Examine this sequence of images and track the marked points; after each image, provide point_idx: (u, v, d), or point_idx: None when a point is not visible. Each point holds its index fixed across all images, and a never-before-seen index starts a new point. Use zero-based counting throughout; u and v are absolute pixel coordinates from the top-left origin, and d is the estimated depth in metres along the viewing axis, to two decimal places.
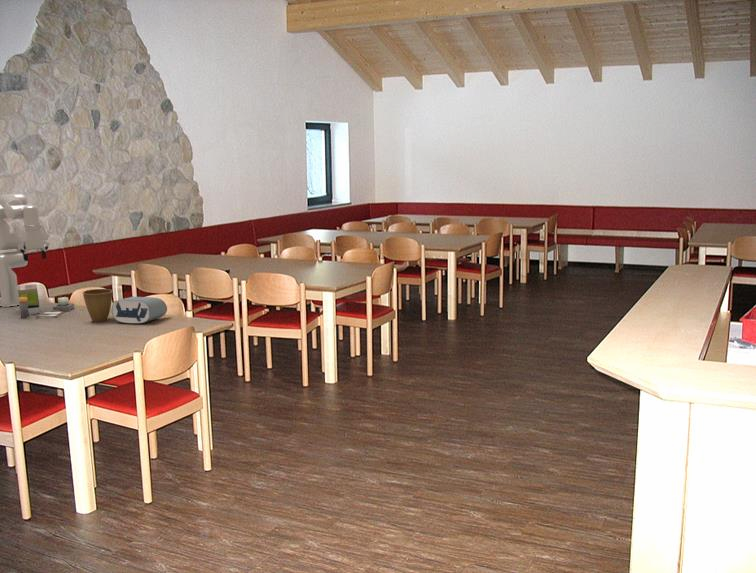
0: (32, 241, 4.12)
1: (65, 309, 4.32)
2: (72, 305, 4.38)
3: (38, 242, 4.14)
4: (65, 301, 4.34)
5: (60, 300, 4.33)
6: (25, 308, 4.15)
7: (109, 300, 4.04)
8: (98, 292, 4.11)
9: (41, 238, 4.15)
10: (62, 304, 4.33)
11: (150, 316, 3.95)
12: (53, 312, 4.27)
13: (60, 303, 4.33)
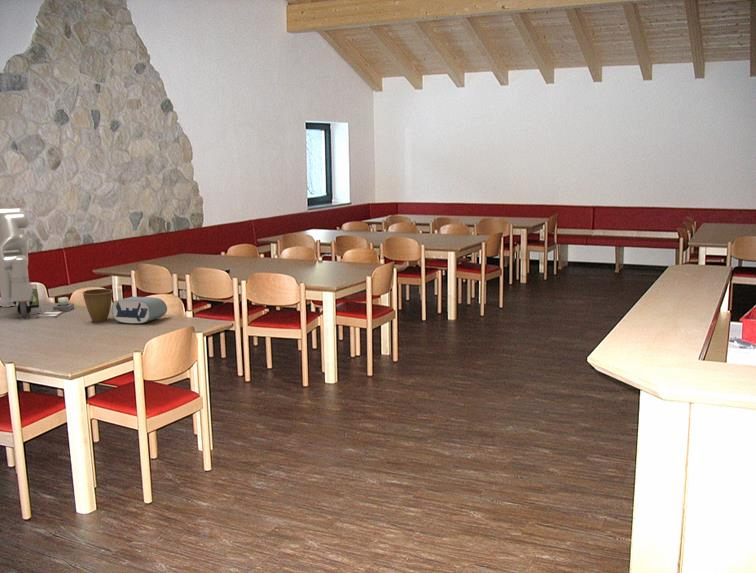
0: None
1: (65, 309, 4.32)
2: (72, 305, 4.38)
3: None
4: (65, 301, 4.34)
5: (60, 300, 4.33)
6: (25, 308, 4.15)
7: (109, 300, 4.04)
8: (98, 292, 4.11)
9: None
10: (62, 304, 4.33)
11: (150, 316, 3.95)
12: (53, 312, 4.27)
13: (60, 303, 4.33)
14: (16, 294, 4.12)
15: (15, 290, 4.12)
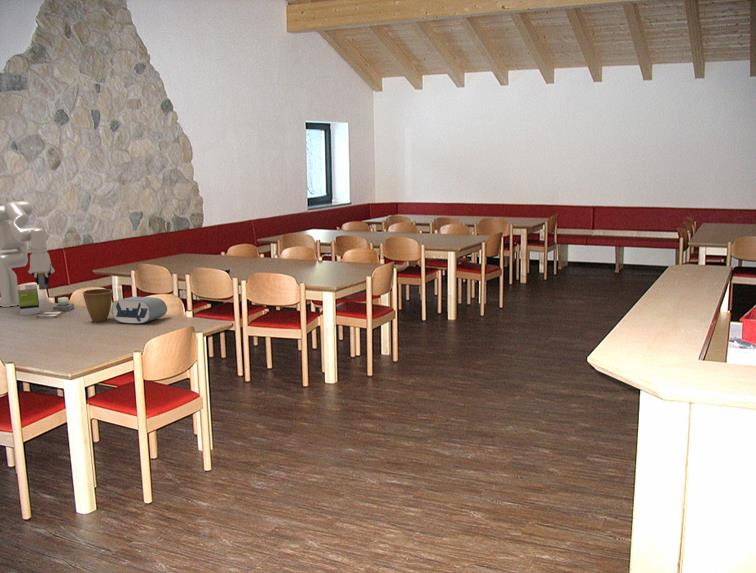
0: None
1: (65, 309, 4.32)
2: (72, 305, 4.38)
3: None
4: (65, 301, 4.34)
5: (60, 300, 4.33)
6: (43, 279, 4.16)
7: (109, 300, 4.04)
8: (98, 292, 4.11)
9: None
10: (62, 304, 4.33)
11: (150, 316, 3.95)
12: (53, 312, 4.27)
13: (60, 303, 4.33)
14: (34, 265, 4.13)
15: (33, 261, 4.13)
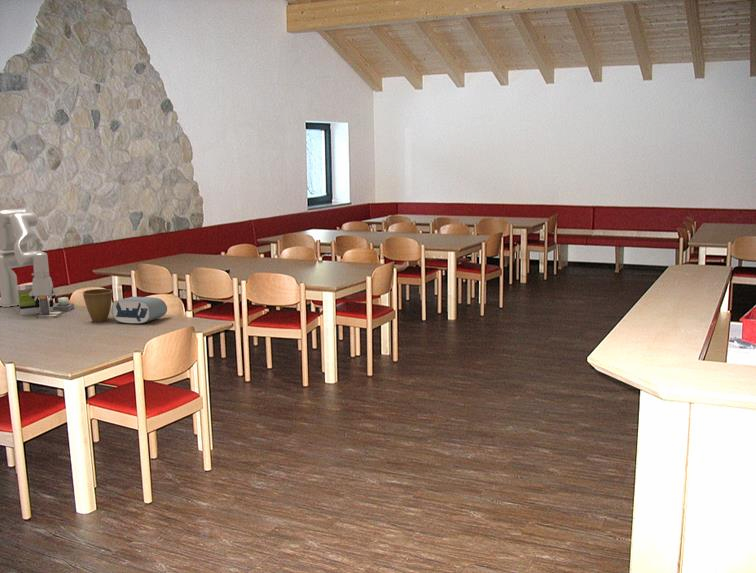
0: None
1: (65, 309, 4.32)
2: (72, 305, 4.38)
3: None
4: (65, 301, 4.34)
5: (60, 300, 4.33)
6: (45, 305, 4.19)
7: (109, 300, 4.04)
8: (98, 292, 4.11)
9: None
10: (62, 304, 4.33)
11: (150, 316, 3.95)
12: (53, 312, 4.27)
13: (60, 303, 4.33)
14: (37, 289, 4.16)
15: (36, 285, 4.15)
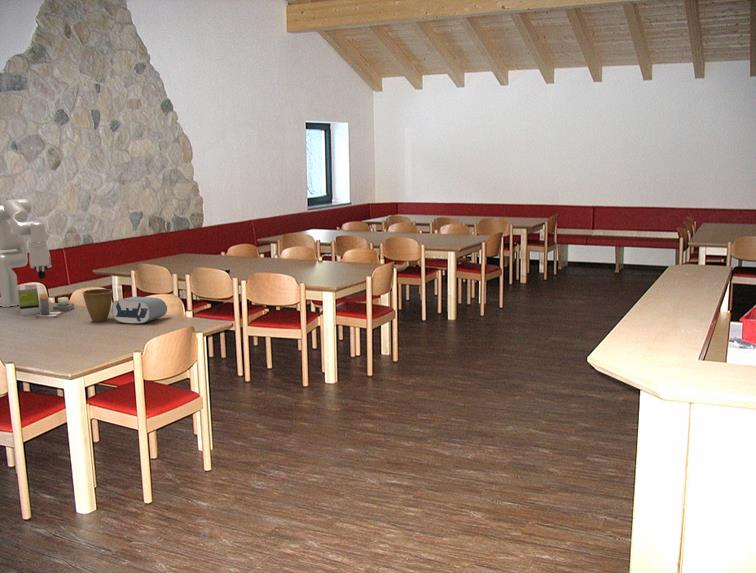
0: None
1: (65, 309, 4.32)
2: (72, 305, 4.38)
3: None
4: (65, 301, 4.34)
5: (60, 300, 4.33)
6: (46, 305, 4.19)
7: (109, 300, 4.04)
8: (98, 292, 4.11)
9: None
10: (62, 304, 4.33)
11: (150, 316, 3.95)
12: (53, 312, 4.27)
13: (60, 303, 4.33)
14: (34, 259, 4.13)
15: (33, 255, 4.12)
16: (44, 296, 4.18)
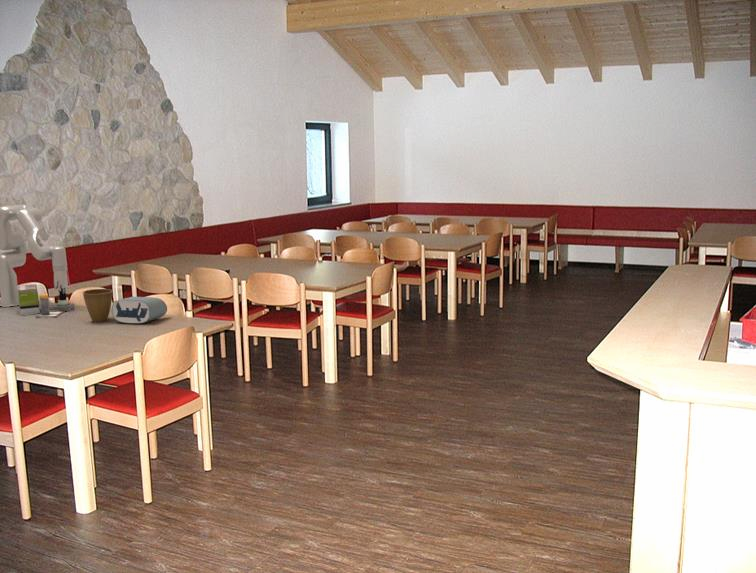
0: (64, 280, 4.32)
1: (65, 309, 4.32)
2: (72, 305, 4.38)
3: (66, 280, 4.35)
4: (65, 303, 4.34)
5: (60, 302, 4.33)
6: (46, 305, 4.19)
7: (109, 300, 4.04)
8: (98, 292, 4.11)
9: None
10: None
11: (150, 316, 3.95)
12: (53, 312, 4.27)
13: (60, 305, 4.33)
14: None
15: None
16: (44, 296, 4.18)
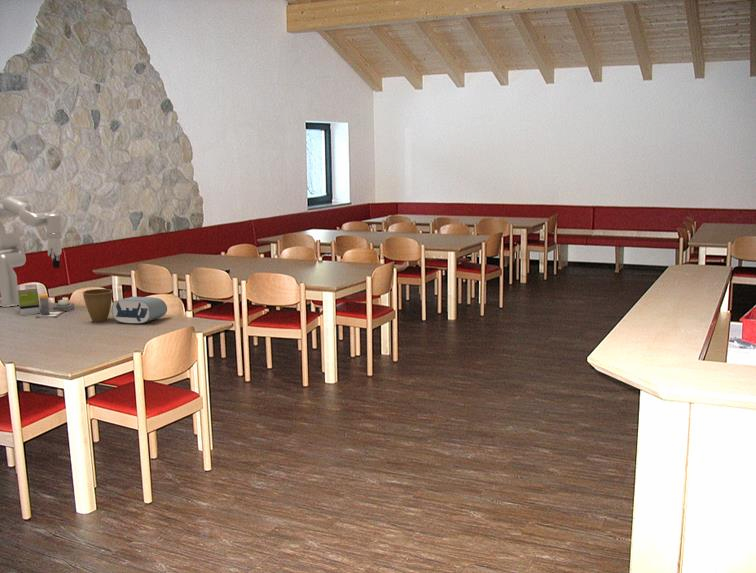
0: (58, 247, 4.30)
1: (65, 309, 4.32)
2: (72, 305, 4.38)
3: (60, 248, 4.33)
4: (65, 303, 4.34)
5: (60, 302, 4.33)
6: (46, 305, 4.19)
7: (109, 300, 4.04)
8: (98, 292, 4.11)
9: None
10: None
11: (150, 316, 3.95)
12: (53, 312, 4.27)
13: (60, 305, 4.33)
14: None
15: None
16: (44, 296, 4.17)
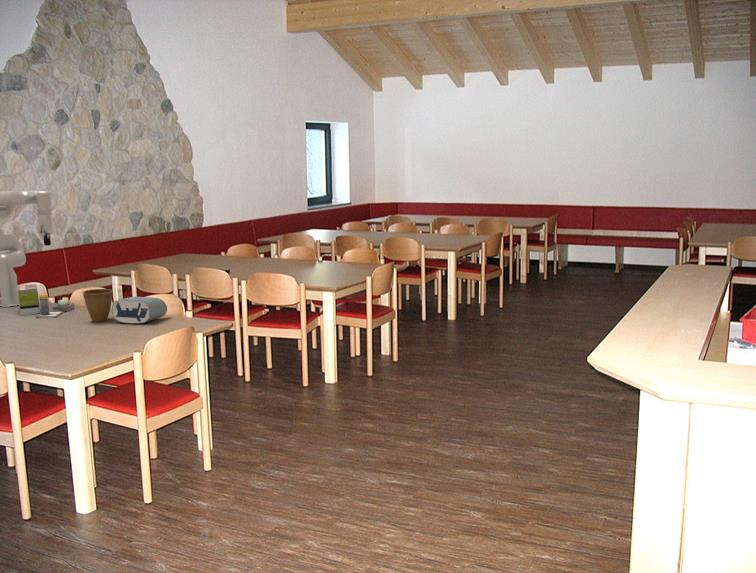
0: (49, 224, 4.30)
1: (65, 309, 4.32)
2: (72, 305, 4.38)
3: (51, 225, 4.33)
4: (65, 303, 4.34)
5: (60, 302, 4.33)
6: (45, 305, 4.19)
7: (109, 300, 4.04)
8: (98, 292, 4.11)
9: (51, 222, 4.35)
10: None
11: (150, 316, 3.95)
12: (53, 312, 4.27)
13: (60, 305, 4.33)
14: None
15: None
16: (44, 296, 4.18)
